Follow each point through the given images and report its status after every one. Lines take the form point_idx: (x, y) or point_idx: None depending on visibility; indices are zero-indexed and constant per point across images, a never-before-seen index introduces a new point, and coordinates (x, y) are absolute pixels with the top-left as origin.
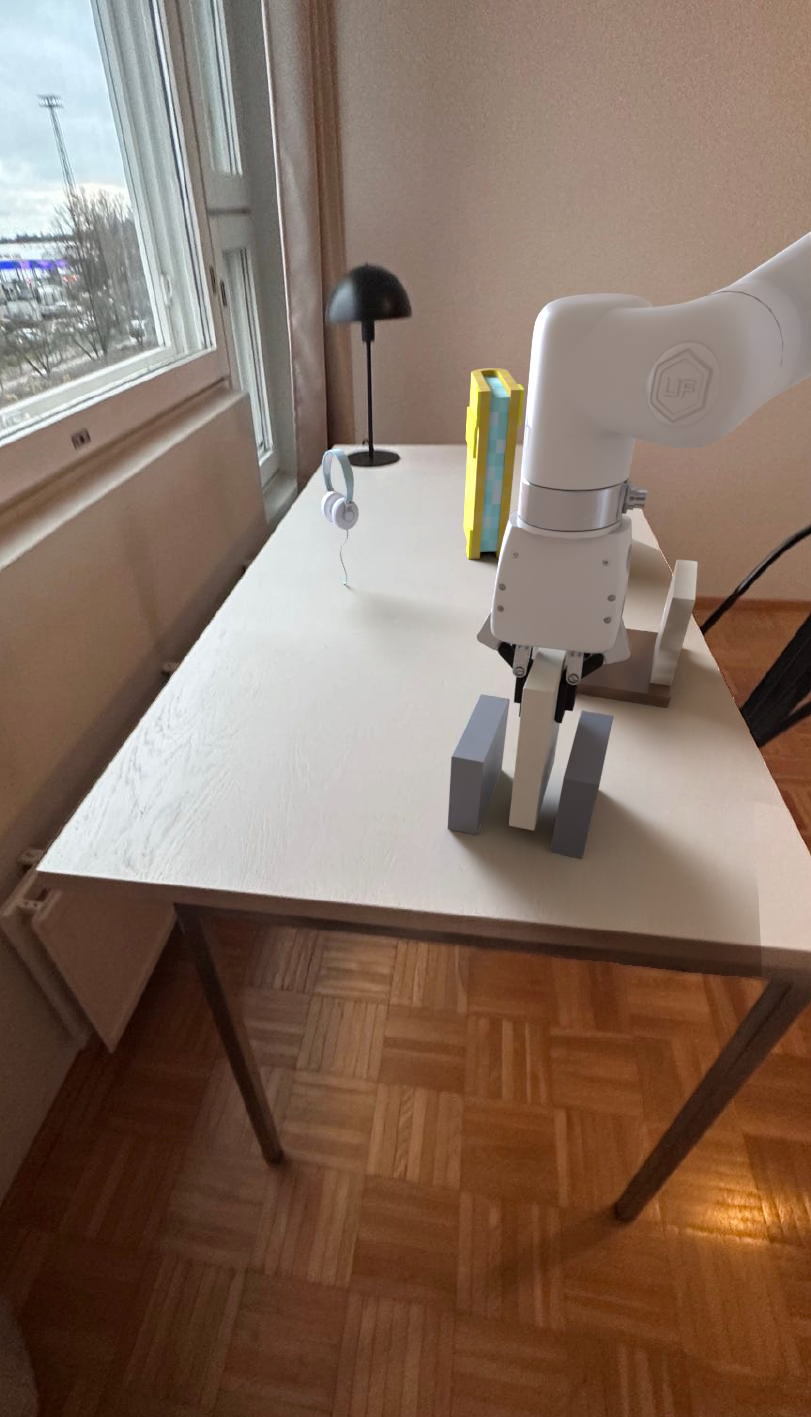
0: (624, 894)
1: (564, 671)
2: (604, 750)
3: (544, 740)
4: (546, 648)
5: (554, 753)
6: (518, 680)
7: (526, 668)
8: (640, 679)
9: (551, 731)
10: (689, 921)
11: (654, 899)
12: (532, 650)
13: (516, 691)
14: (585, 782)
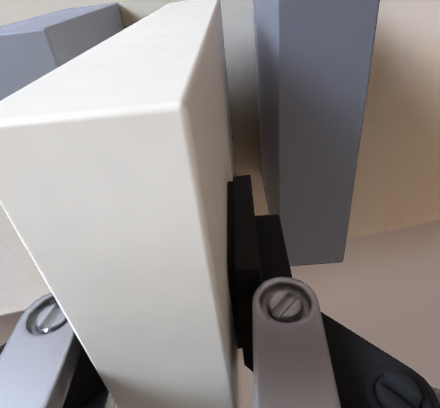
0: (359, 201)
1: (242, 350)
2: (352, 167)
3: None
4: (122, 354)
5: (221, 29)
6: None
7: (113, 400)
8: None
9: None
10: (431, 209)
11: (394, 195)
12: (71, 371)
13: None
14: (318, 262)
